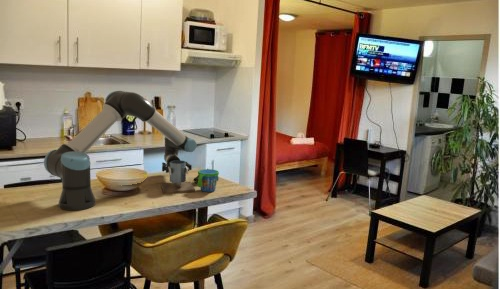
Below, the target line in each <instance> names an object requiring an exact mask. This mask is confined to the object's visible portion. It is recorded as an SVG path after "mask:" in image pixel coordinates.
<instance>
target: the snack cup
mask: <svg viewBox="0 0 500 289" xmlns="http://www.w3.org/2000/svg"><path fill="white" fill-rule="evenodd" d="M219 174H220V173H219V170H217V169H212V168H211V169H210V168H205V169H199V170H198V171H197V176H198V175H199V178H198V181H197V187H199V188H200V190H201V191H202V192H207V193H208V192H209V193H210V192H211V193H212V192H214V191H216V188H217V187H216V186H217V182H219Z"/></svg>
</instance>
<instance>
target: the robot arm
mask: <svg viewBox="0 0 500 289" xmlns="http://www.w3.org/2000/svg"><path fill="white" fill-rule="evenodd" d="M127 116H130V117H134V118H137V119H139V120H140V121H141V122H143V123H144V122H146V123H147V124H148V125H150V126H151V127H152V128H153V129H155V130H156V131H157V132H159V133H160V134H161V135H163V136H164V155H163V160H164V162H163V161H162V162H161V171H162V172H165V173H166V174H168V175H169V176H170V175H171V168H170V162H171V161H175V160H181V159H180V158H179V151H183V152H187V153H188V152H189V153H193V152H195V150H196V149H197V141H196V140H195V139H193V138H191V137H188V136H187V135H185V134H184V133H183V132H182V131H181V130H179V129H178V127H176V126H175V125H174V124H173V123H172V122H170V121H169V120H168V119H167V118H165V116H164V115H162V114H161V113H159V111H157V109H156V106H155V105H153V104H152V103H151V102H150V101H148V100H147V99H146V98H145V97H144V96H142V95H140V94H139V93H137V92H132V91H125V90H115V91H112V92H110V93H109V94H107V96H106V97H105V102H104V104H102V110H101V111H100V112H99V113H98V114H97V115H96V116H94V117H93V119H92V120H90V121H89V123H88V124H87V125H86V126H85V127H83V129H81V131H79V132H78V134H76V136H74V138H72V139H71V140H70V141H69V142H67V143H62V145H60V146H58V148H57V149H53V150H50V151H49V152H47V154H46V155H45V157H44V159H43V167H44V168H45V170H46V172H48V173H49V174H50V175H51V176H54V177H58V178H59V179H61V184H62V186H61V187H62V188H61V189H62V191H61V194H60V197H59V200H58V208H59V209H61V210H63V209H64V210H65V211H82V210H86V209H89V208H90V209H91V208H92V207H95V205H96V197H95V194H94V193H93V190H92V185H91V184H92V183H91V182H92V181H91V180H92V179H91V160H90V156H89V155H88V154H87V152H88V151H89V150H90V149H91V148H92V147H93V146H94V145H95V144H96V143H97V142H98V141H99V140H100V139H101V138H102V137H103V136H104V134H106V133H107V132H108V131H109V129H111V128H112V126H113V125H114V124H116V122H122V121H123V119H124V118H125V117H127ZM185 162H186V175H189V172H190V171H192V170H193V169H192V168H193V167H192V164H190V163H188V161H185Z"/></svg>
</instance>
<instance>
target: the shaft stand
mask: <svg viewBox="0 0 500 289" xmlns="http://www.w3.org/2000/svg"><path fill="white" fill-rule="evenodd" d="M160 188H161V190H162V194H163V195H167V194H183V193H196V188H195V187H194V185H193V184H192V182H191V181H185V182H182V183H173V182H160Z"/></svg>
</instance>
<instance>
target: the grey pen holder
mask: <svg viewBox="0 0 500 289" xmlns="http://www.w3.org/2000/svg"><path fill="white" fill-rule="evenodd" d="M186 162H187V161H185V160H181V159H180V160H175V161H171V162H170V168H171V175H169V183H171V182H173V183H182V182H187V179H186V178H187V174H186Z"/></svg>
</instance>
